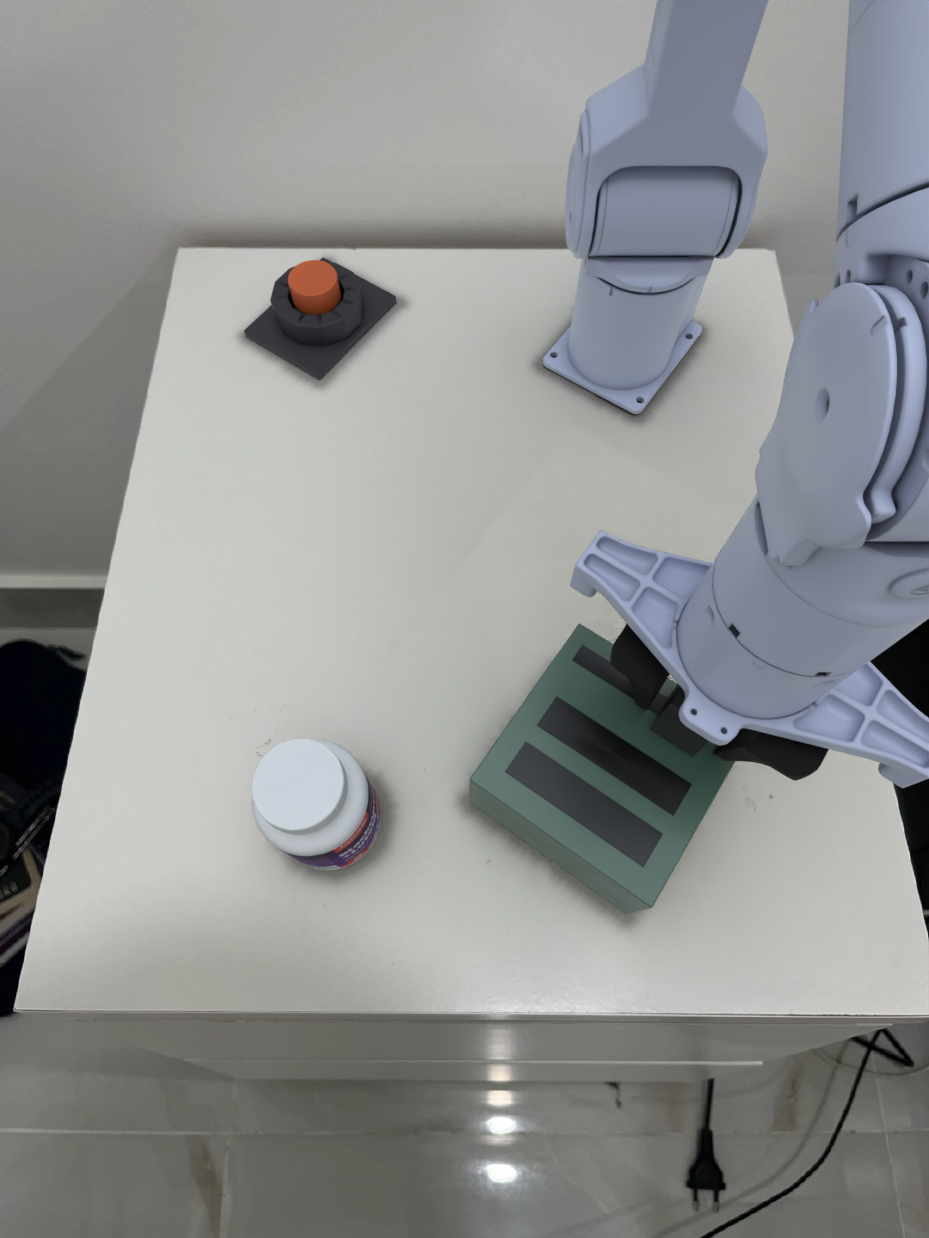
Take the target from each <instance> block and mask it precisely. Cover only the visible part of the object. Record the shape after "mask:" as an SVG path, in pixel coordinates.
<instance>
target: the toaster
mask: <svg viewBox="0 0 929 1238" xmlns="http://www.w3.org/2000/svg"><path fill="white" fill-rule="evenodd" d="M576 625H577V626H576V627H575V628H574V630H573V631H572V632H571V634H570V636H568V637H567V639H566V641H565V642H564V644H563V645H562V647H561V648H560V649H559V651H558V652H557V654H556V655H555V656H554V658H553V659H552V661H551V662H550V663H549V665H548V666H547V668H546V669H545V671H544V672H543V673H542V675H541V676H540V678H539V680H537V682H536V684H535V685H534V686H533V687H532V689H531V691H530V692H529V693H528V695H527V696H526V698H525V699H524V700H523V702H522V703H521V705H520V706H519V708H518V709H517V711H516V712H515V713H514V715H513V716H512V718H511V719H510V721H508V723H507V724H506V727H504V729H503V731H502V732H501V733H500V735H499V736H498V738H497V739H496V741H495V742H494V743H493V745H492V746H491V748H490V749H489V750H488V752H487V753H486V755H485V756H484V758H483V759H482V760H481V762H480V763H479V765H478V766H477V768H476V769H475V770H474V772H473V773H472V775H471V776H470V778H469V804H471V805H472V806H474V807H475V808H477V809H478V810H479V811H481V812H482V813H484V814H485V815H486V816H487V817H489V818H490V819H492V820H494V821H495V822H496V823H497V824H499V825H500V826H502V827H503V828H505V830H507V831H509V832H510V833H511V834H513V835H514V836H516V837H517V838H518V839H520V840H521V841H523V842H524V843H526V844H527V845H528V846H530V847H531V848H533V849H534V850H536V851H537V852H538V853H540V854H541V855H543V856H544V857H545V858H546V859H548V860H550V861H551V862H552V863H554V864H555V865H556V866H558V867H559V868H560V869H562V870H564V871H565V872H566V873H568V874H569V875H571V876H572V877H573V878H574V879H576V880H577V881H578V882H580V883H582V884H583V885H584V886H586V887H587V888H588V889H590V890H592V891H593V892H594V893H596V894H597V895H599V896H600V897H601V898H602V899H604V900H606V901H607V902H608V903H610V904H611V905H612V906H614V907H615V908H617V909H618V910H620V912H622V913H624V914H625V915H628V914H632V913H636V912H640V911H644V910H648V909H652V908H653V907H654V905H655V903H656V902H657V901H658V899H659V897H660V895H661V893H662V892H663V889H664V888H665V886H666V884H667V883H668V881H669V879H670V877H671V876H672V874H673V872H674V870H675V869H676V867H677V865H678V863H679V862H680V859H681V858H682V856H683V854H684V852H685V851H686V849H687V847H688V845H689V844H690V842H691V841H692V838H693V837H694V835H695V834H696V831H697V830H698V828H699V827H700V825H701V823H702V821H703V819H704V818H705V816H706V814H707V812H708V810H709V809H710V807H711V805H712V803H713V802H714V800H715V799H716V796H717V794H718V793H719V792H720V789H721V787H722V786H723V784H724V782H725V780H726V779H727V776H728V775H729V774H730V772H731V770H732V768H733V766H734V765H735V762H736V761H724V760H722V759H721V758H719V757H718V756H716V755H714V754H713V752H714V750H715V748H716V747H717V745H716V744H714V743H711V742H709V743H708V744H707V745H706V746H705V747H703V748H702V749H701V750H700V751H699V752H698V753H697V754H695V755H694V756H692V755H690V754H688V753H687V752H685V751H684V750H682V749H681V748H679V747H677V746H676V745H674V744H673V743H671V742H670V741H668V740H667V739H665V738H663V737H662V736H660V735H659V734H657V733H656V732H654V731H653V730H651V729H650V727H651V726H652V724H653V723H654V721H655V719H656V718H657V716H658V715H659V713H660V711H661V710H662V708H663V707H664V705H665V703H666V702H667V700H668V699H669V697H670V695H671V694H672V692H673V691H674V689H675V687H676V686H677V684H678V683H677V682H676V681H675V680H672V679H671V678H669V677H668V678H667V679H666V681H665V683H664V684H663V686H662V687H661V689H660V690H659V692H658V694H657V695H656V697H655V698H654V700H653V701H652V703H651V705H650V706H649V708H648V709H647V710H646V711H645V710H644V709H642V708H640V707H639V706H637V705H636V704H635V699H634V692H633V689H632V686H631V684H630V682H629V680H628V679H627V677H626V676H625V675H623V674H622V673H620V672H619V671H617V670H616V669H615V668H613V667H612V666H611V665H610V656H611V650H612V647H613V644H614V643H612V642H611V641H609V640H607V639H606V638H604V637H603V636H601V635H599V634H598V633H596V632H595V631H593V630H591V629H589V628H588V627H586V626H585V625H583V624H582V623H578V624H576Z"/></svg>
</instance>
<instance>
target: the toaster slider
mask: <svg viewBox="0 0 929 1238" xmlns="http://www.w3.org/2000/svg"><path fill="white" fill-rule="evenodd" d="M684 700H685V692H684V690H683V689H682V688H681V686H680V685H679V684H678V683H677V686H676V687H675V689H674V691H673V692H672V694H671V695H670V697H669V699H668V700H667V702H666V703H665V705H664V707H663V708H662V710H661V711H660V713H659V715H658V716H657V718H656V719H655V721H654V723H653V724H652V726H651V727H650V729H651V730H653V731H654V732H656V733H657V734H659V735H660V736H662V737H663V738H665V739H667V740H668V741H670V742H671V743H673V744H674V745H676V746H677V747H679V748H681V749H682V750H684V751H685V752H687V753H688V754H690V755H692V756H694V755H695V754H697V753H698V752H699V751H700V750H701V749H702V748H703V747H705V746H706V745H707V744H708V743H709V742H710V741H708V740H707V739H705V738H704V737H702V736H700V735H699V734H697V733H696V732H694V731H692V730H691V729H689V728H688V727H686V726H685V725H684V724H683V723H682V722H681V721H680V718H679V710H680V707H681V705H682V704H683V702H684Z"/></svg>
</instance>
